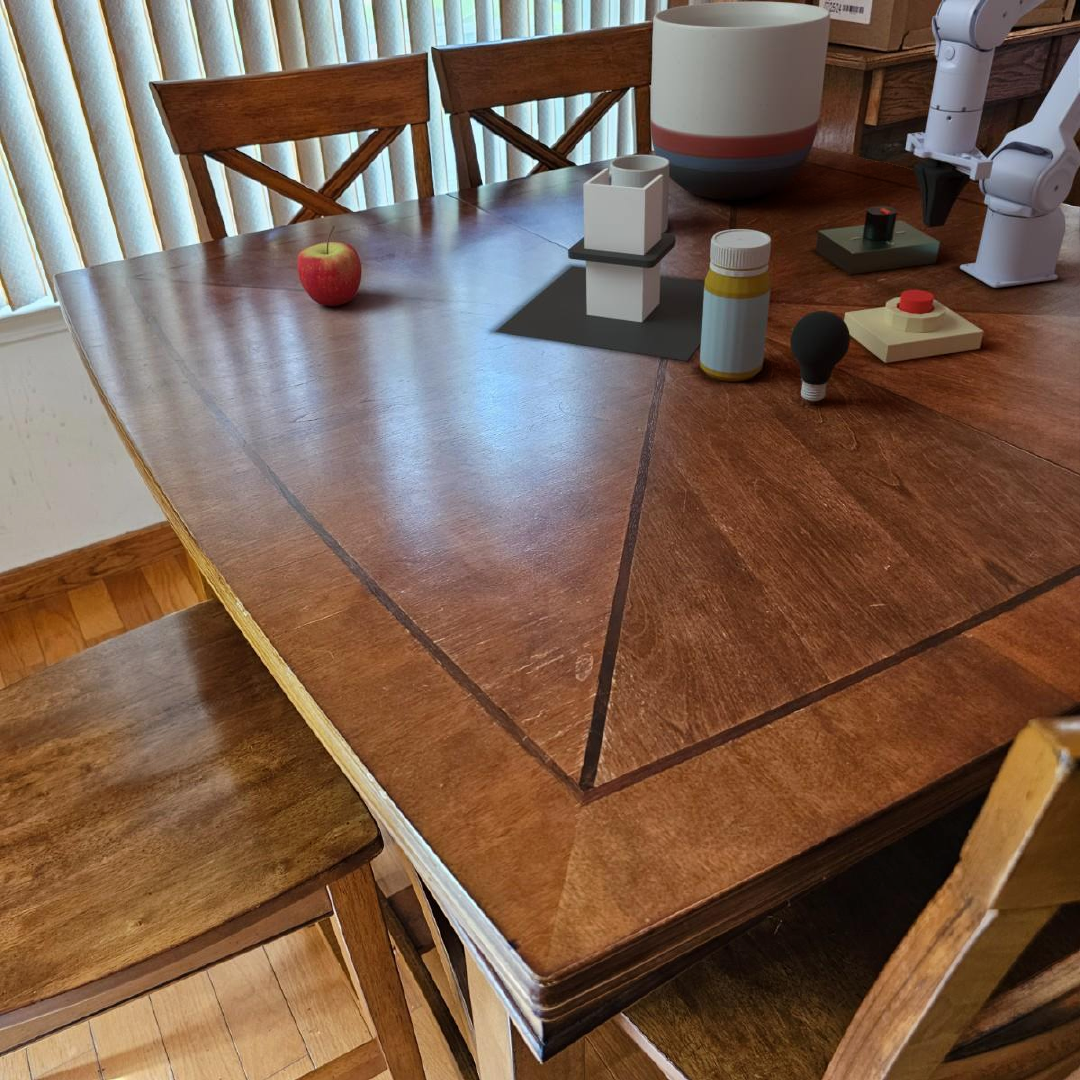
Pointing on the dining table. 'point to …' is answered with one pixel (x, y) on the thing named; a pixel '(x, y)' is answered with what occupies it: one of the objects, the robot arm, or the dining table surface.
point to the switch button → (916, 301)
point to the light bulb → (818, 350)
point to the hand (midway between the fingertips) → (933, 225)
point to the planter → (737, 93)
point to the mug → (642, 176)
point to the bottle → (736, 305)
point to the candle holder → (618, 281)
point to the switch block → (912, 332)
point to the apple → (330, 272)
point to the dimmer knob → (880, 223)
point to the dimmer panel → (876, 249)
